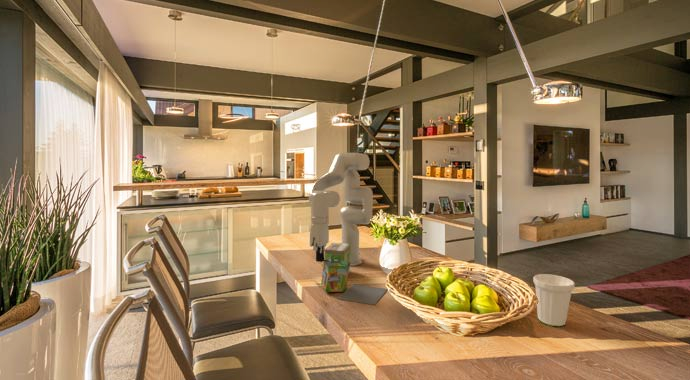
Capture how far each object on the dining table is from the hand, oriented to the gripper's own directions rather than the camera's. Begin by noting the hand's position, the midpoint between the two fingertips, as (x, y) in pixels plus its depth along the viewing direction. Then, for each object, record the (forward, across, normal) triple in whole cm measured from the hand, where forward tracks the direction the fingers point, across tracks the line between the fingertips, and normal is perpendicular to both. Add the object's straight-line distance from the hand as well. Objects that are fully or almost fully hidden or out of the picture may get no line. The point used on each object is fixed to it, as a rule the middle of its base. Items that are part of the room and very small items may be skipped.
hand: (320, 261), depth 156 cm
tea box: (+12, -19, 0) cm, 22 cm away
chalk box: (+12, 0, +6) cm, 13 cm away
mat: (+12, -1, +20) cm, 24 cm away
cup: (+12, -4, +90) cm, 91 cm away
